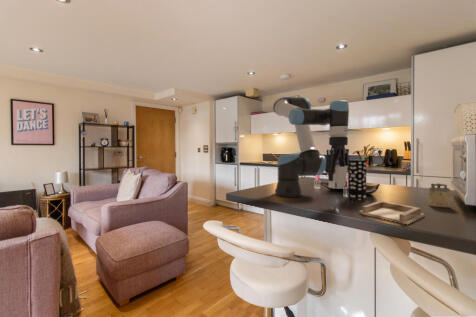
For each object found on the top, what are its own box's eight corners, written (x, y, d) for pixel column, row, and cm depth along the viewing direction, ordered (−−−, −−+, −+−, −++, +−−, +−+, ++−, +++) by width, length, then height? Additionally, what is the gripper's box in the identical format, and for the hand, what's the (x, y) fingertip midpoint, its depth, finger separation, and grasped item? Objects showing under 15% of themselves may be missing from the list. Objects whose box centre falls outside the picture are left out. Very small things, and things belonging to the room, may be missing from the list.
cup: (324, 185, 101) (325, 164, 100) (342, 185, 100) (342, 164, 100) (331, 189, 93) (332, 166, 92) (350, 189, 92) (351, 166, 92)
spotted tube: (368, 200, 106) (369, 160, 105) (350, 199, 108) (351, 160, 107) (362, 196, 114) (363, 159, 113) (345, 196, 116) (346, 159, 115)
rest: (359, 213, 85) (359, 206, 85) (378, 206, 94) (378, 200, 94) (407, 225, 72) (407, 216, 72) (424, 216, 81) (424, 208, 81)
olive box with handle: (447, 206, 94) (448, 183, 93) (451, 208, 90) (452, 185, 90) (427, 204, 97) (427, 182, 96) (430, 206, 93) (431, 184, 93)
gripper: (332, 136, 86) (331, 191, 88) (359, 136, 97) (357, 185, 99) (316, 136, 92) (315, 188, 94) (343, 136, 103) (341, 182, 105)
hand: (337, 186), depth 96 cm, fingers closed on cup, 8 cm apart
